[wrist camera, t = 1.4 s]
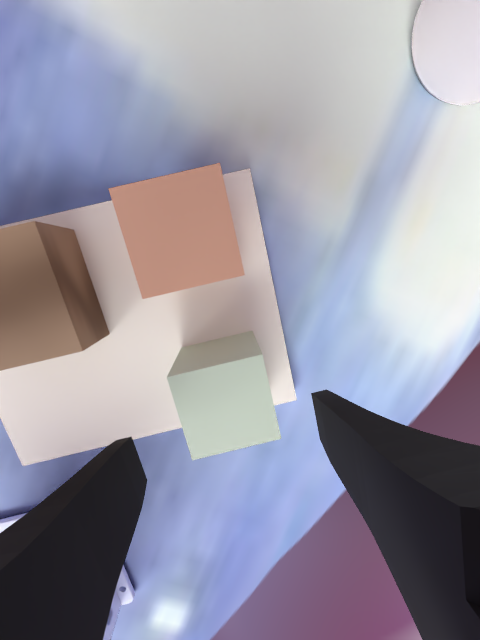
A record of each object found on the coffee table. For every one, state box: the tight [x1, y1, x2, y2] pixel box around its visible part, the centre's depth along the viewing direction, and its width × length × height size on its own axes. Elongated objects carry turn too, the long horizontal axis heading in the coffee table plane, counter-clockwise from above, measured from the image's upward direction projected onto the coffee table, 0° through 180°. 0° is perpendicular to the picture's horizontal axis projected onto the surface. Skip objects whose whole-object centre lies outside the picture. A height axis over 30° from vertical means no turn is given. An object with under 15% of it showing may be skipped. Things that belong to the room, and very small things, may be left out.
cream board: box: [0, 168, 297, 466], centre depth 17 cm, size 14×18×1 cm
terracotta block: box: [108, 163, 245, 299], centre depth 13 cm, size 4×4×4 cm
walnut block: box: [0, 221, 110, 371], centre depth 14 cm, size 6×6×3 cm
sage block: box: [167, 331, 281, 460], centre depth 15 cm, size 4×4×4 cm
